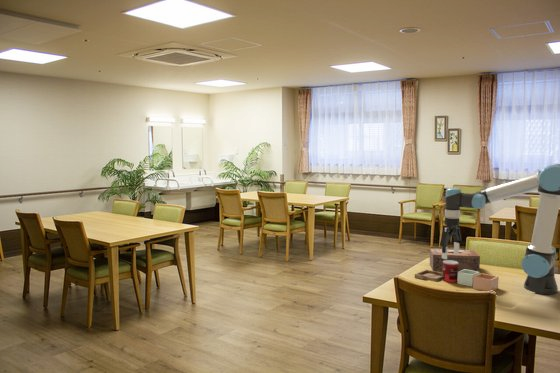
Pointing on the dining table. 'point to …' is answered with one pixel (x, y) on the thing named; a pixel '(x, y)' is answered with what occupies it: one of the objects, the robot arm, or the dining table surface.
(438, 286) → the dining table surface
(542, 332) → the dining table surface
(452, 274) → the canned food
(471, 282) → the mint green open box
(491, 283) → the pot
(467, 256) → the tissue box cover
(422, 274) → the tray
